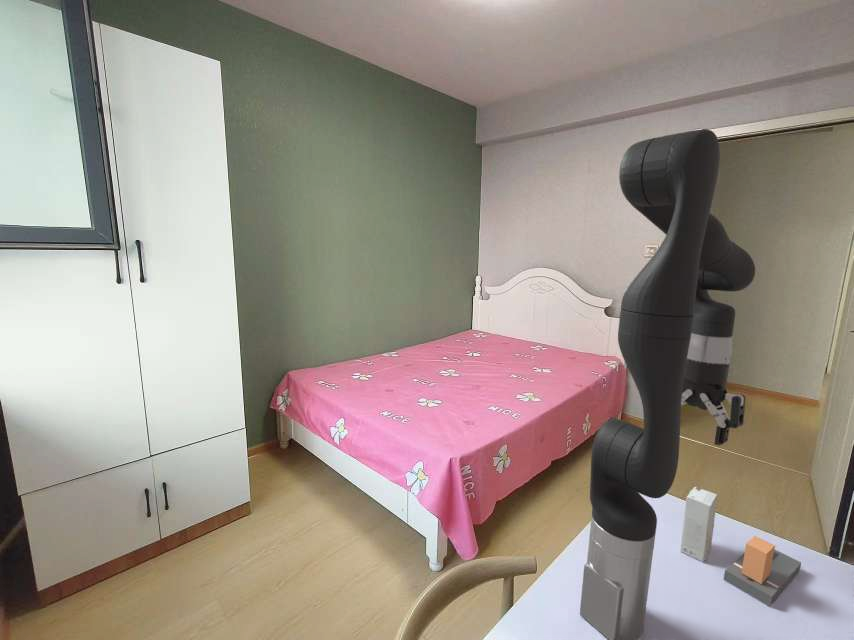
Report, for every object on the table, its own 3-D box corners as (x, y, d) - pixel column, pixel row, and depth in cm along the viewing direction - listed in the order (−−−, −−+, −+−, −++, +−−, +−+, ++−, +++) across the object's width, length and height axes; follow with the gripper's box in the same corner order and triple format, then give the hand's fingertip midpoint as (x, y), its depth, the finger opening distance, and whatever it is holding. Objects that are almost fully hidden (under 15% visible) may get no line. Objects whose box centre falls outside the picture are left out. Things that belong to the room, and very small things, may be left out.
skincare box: (704, 563, 80) (712, 507, 78) (678, 551, 83) (685, 496, 81) (711, 548, 84) (719, 494, 82) (686, 537, 87) (694, 485, 85)
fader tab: (761, 584, 72) (766, 553, 71) (741, 572, 75) (746, 543, 74) (769, 574, 74) (775, 545, 73) (750, 564, 77) (755, 535, 76)
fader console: (770, 607, 70) (771, 596, 70) (723, 579, 76) (724, 569, 76) (799, 571, 78) (801, 562, 78) (755, 549, 84) (757, 540, 84)
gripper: (658, 351, 83) (649, 426, 85) (740, 368, 71) (726, 455, 73) (678, 347, 87) (668, 419, 89) (758, 363, 75) (745, 446, 77)
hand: (695, 435), depth 81 cm, fingers open, 8 cm apart
